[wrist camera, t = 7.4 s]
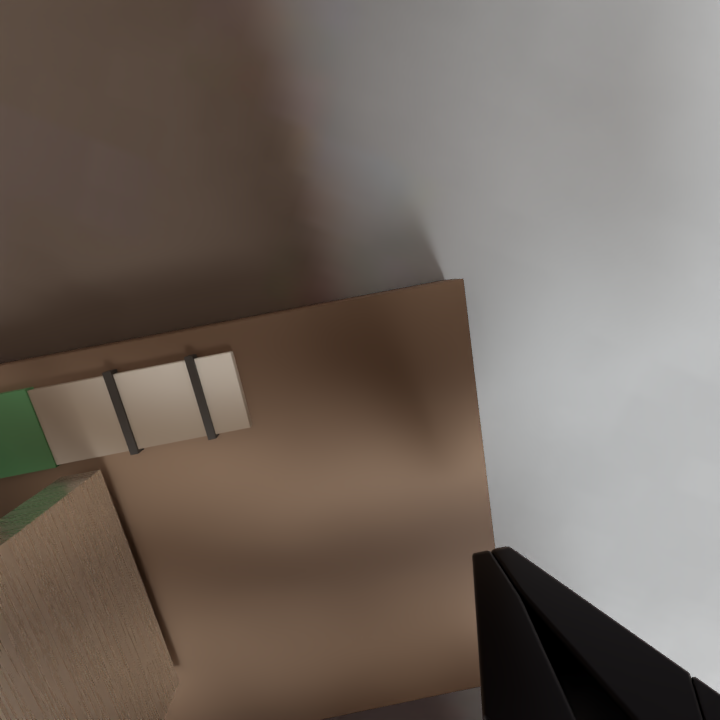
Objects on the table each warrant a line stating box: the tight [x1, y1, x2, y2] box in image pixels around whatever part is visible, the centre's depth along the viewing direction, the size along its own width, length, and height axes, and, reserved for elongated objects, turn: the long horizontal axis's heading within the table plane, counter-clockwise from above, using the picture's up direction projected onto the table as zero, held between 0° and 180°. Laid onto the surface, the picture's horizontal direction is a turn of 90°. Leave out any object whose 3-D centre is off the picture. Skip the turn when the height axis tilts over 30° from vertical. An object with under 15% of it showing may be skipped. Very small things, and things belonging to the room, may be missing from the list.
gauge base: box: [0, 279, 495, 720], centre depth 8 cm, size 13×24×6 cm, turn 100°
